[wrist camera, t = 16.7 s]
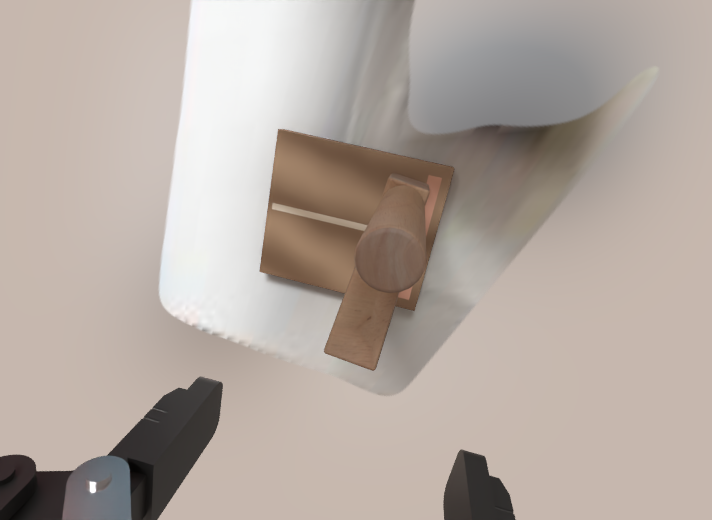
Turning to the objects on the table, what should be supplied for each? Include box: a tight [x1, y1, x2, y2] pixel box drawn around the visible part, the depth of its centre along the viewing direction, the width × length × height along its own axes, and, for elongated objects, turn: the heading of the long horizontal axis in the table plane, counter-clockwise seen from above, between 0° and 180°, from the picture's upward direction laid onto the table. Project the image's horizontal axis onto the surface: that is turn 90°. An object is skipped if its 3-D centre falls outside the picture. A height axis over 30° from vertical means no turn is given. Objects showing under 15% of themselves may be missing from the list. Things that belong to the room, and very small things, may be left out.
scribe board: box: [260, 129, 454, 311], centre depth 39 cm, size 14×16×2 cm
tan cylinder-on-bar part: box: [324, 173, 430, 371], centre depth 29 cm, size 4×11×18 cm, turn 163°
